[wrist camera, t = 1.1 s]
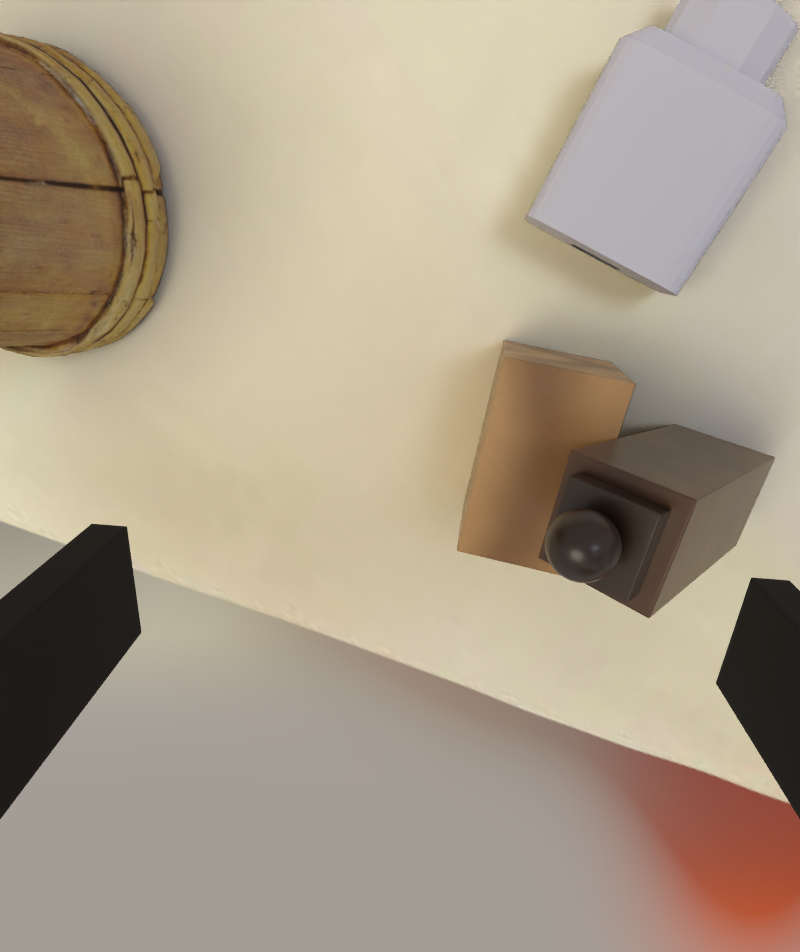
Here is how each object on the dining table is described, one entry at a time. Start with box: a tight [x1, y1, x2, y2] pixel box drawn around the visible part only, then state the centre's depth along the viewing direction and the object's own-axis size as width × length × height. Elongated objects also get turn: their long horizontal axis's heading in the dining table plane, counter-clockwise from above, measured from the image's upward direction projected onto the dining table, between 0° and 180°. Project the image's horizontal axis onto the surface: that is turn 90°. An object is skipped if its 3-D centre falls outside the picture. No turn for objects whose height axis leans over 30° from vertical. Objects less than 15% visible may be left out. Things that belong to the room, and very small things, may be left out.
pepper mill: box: [538, 424, 775, 618], centre depth 31 cm, size 14×6×17 cm, turn 79°
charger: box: [525, 0, 799, 296], centre depth 30 cm, size 5×9×15 cm
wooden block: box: [457, 341, 635, 575], centre depth 36 cm, size 7×12×7 cm, turn 169°
